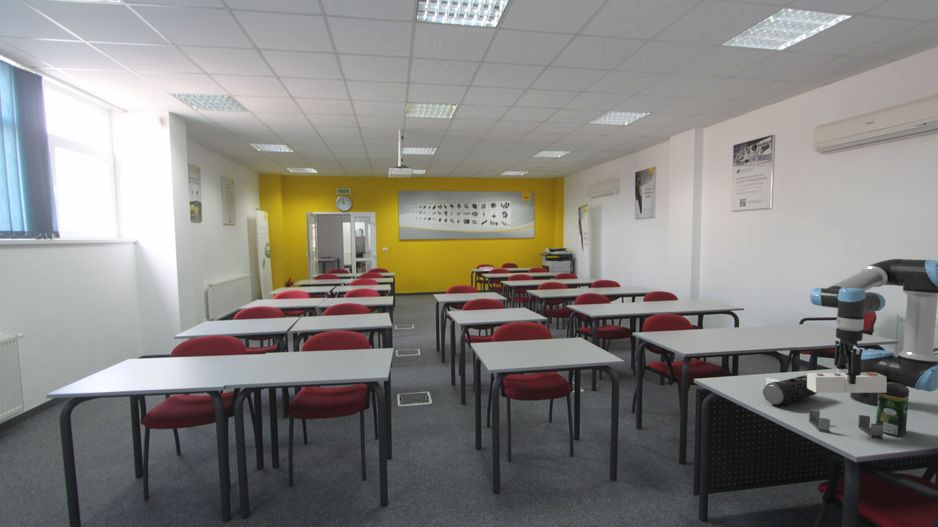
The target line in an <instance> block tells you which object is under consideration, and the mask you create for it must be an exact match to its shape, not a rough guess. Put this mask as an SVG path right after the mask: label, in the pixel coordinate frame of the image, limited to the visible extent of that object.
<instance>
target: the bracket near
mask: <svg viewBox="0 0 938 527" xmlns="http://www.w3.org/2000/svg"><path fill="white" fill-rule="evenodd" d="M857 427H858V428H859V429H860V430H861V431H862V432H864V433H865V434H867V435H868V437H870V436H871V438H872V439H879V440H883V435H884V433H883V425H880V424H876V423H871V416H869V415H861V414H858V426H857Z"/></svg>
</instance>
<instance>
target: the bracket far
mask: <svg viewBox="0 0 938 527" xmlns="http://www.w3.org/2000/svg"><path fill="white" fill-rule="evenodd" d="M808 412H809V414H808V423H810V424H811V425H812V427H814V428H815V429H816V430H818V431H819V432H822V433H829V434H830V427H831V426H830V424H831V419H829V418H827V417H826V418H825V417H820V416H821V415H820V412H821V411H820V410H817V409H809V411H808Z"/></svg>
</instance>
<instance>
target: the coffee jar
mask: <svg viewBox="0 0 938 527" xmlns="http://www.w3.org/2000/svg"><path fill="white" fill-rule="evenodd" d="M909 396H910V390H909V387H907V386H904V385H903V384H899V383H894V382H887V393H878V405H877V406H876V407H877V408H876V416H875V417H876V419H875V424H880V425H883V434H885V435H888V436H896V437H902V436H904V435H905V434H906V432H907V421H908V406H909V398H910V397H909Z"/></svg>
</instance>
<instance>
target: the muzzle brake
mask: <svg viewBox="0 0 938 527" xmlns="http://www.w3.org/2000/svg"><path fill="white" fill-rule="evenodd" d="M817 394H818V393H815V392H813V391H812V390H810V389H808V388H807V374H806V375H799V376H796V377H793V378H788V379H784V380H778V381H772V382H769V383H767V384H766V385H765V386H764V387H763V389H762V395H763V397H764V399H765V400H766V401H767V402H768V403H769V404H772V405H776V406H784V405H787V404H789V403H791V402H795V401H799V400H802V399H806V398H809V397H811V396H815V395H817Z"/></svg>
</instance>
